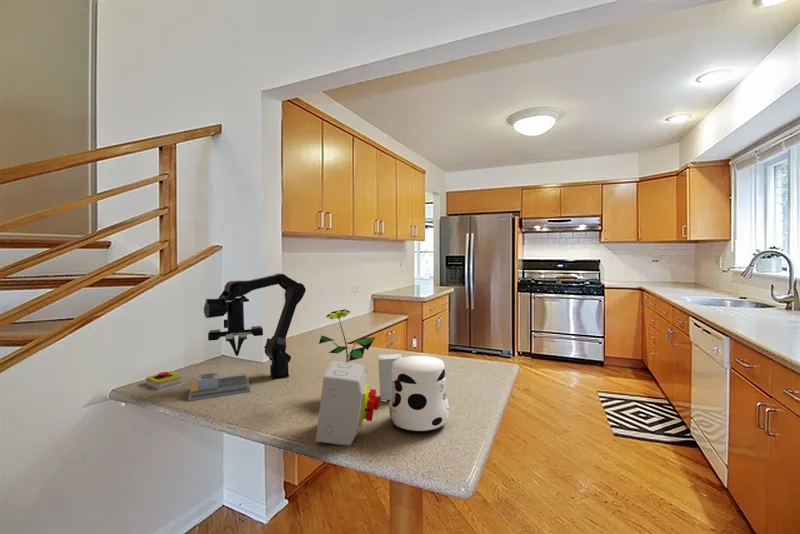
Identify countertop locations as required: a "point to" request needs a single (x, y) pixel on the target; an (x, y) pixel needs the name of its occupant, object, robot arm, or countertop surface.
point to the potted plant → (354, 353)
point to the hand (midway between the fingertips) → (236, 355)
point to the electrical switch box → (344, 403)
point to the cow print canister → (418, 394)
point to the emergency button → (164, 380)
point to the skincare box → (386, 374)
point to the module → (207, 382)
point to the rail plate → (221, 387)
